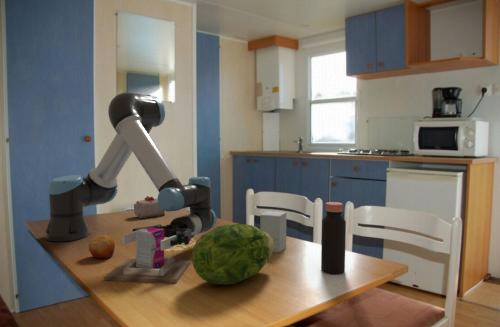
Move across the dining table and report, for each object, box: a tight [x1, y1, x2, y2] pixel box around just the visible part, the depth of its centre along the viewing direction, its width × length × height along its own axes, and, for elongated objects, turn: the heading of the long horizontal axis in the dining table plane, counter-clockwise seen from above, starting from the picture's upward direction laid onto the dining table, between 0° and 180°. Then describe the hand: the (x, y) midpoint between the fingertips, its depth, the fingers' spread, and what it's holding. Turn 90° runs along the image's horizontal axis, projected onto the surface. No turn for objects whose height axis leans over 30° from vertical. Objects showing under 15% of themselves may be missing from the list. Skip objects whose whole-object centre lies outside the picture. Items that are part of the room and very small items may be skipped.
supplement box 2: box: [259, 210, 287, 253], centre depth 138 cm, size 7×7×13 cm
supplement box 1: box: [135, 226, 165, 269], centre depth 114 cm, size 6×6×12 cm
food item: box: [133, 196, 166, 219], centre depth 192 cm, size 14×8×10 cm, turn 128°
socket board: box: [103, 256, 191, 284], centre depth 114 cm, size 20×16×2 cm
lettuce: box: [191, 223, 274, 285], centre depth 108 cm, size 15×27×16 cm, turn 137°
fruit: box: [88, 234, 116, 259], centre depth 128 cm, size 8×8×8 cm
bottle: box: [320, 201, 347, 275], centre depth 115 cm, size 7×7×20 cm
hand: (141, 242), depth 110 cm, fingers open, 13 cm apart
